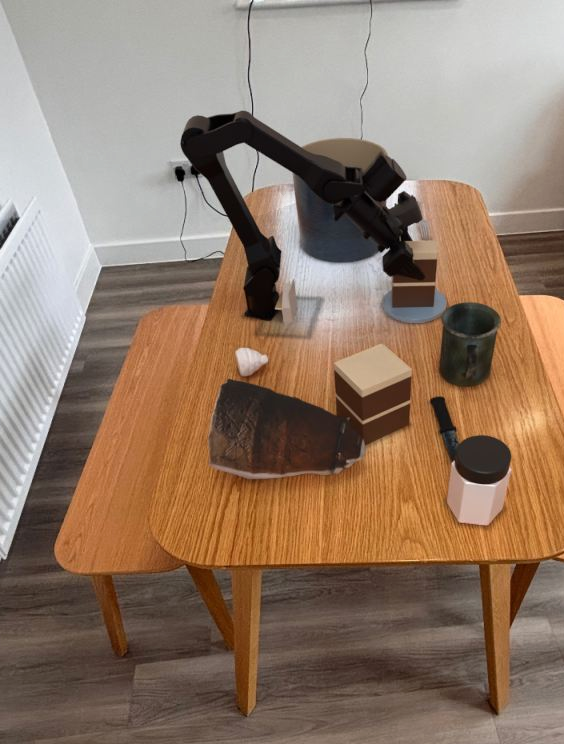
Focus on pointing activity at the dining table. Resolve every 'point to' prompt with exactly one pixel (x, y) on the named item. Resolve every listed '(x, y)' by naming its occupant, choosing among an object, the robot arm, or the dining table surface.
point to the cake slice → (414, 290)
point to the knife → (446, 425)
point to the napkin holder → (287, 302)
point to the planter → (318, 216)
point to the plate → (416, 310)
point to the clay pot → (277, 435)
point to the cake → (373, 392)
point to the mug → (468, 343)
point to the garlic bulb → (249, 361)
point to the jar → (479, 479)
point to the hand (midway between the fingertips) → (421, 267)
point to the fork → (423, 226)
